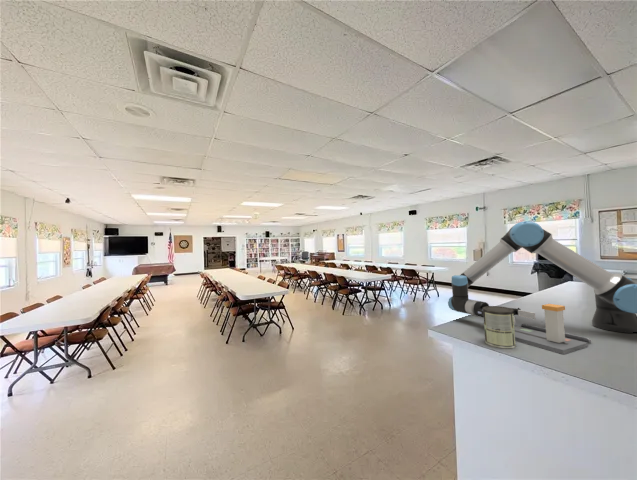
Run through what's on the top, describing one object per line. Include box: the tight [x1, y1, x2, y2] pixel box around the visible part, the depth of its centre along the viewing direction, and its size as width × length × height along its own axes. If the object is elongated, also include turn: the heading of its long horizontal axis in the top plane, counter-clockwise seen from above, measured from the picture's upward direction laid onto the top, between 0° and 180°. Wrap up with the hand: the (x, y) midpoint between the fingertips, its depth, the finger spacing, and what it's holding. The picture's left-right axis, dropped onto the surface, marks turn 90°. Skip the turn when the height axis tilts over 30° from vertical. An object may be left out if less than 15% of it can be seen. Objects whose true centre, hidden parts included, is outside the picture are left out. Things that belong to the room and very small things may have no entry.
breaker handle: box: [541, 303, 566, 343], centre depth 100 cm, size 5×5×14 cm
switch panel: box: [514, 324, 589, 355], centre depth 106 cm, size 26×16×2 cm, turn 22°
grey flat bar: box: [520, 323, 592, 344], centre depth 110 cm, size 23×4×2 cm, turn 22°
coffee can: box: [483, 305, 517, 349], centre depth 104 cm, size 10×10×14 cm
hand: (525, 318), depth 109 cm, fingers open, 13 cm apart
